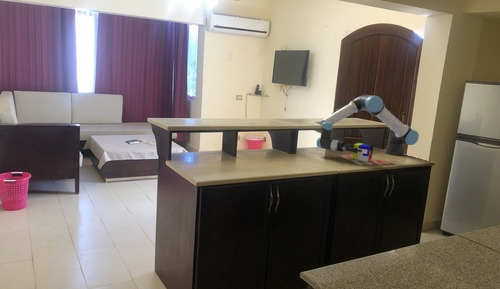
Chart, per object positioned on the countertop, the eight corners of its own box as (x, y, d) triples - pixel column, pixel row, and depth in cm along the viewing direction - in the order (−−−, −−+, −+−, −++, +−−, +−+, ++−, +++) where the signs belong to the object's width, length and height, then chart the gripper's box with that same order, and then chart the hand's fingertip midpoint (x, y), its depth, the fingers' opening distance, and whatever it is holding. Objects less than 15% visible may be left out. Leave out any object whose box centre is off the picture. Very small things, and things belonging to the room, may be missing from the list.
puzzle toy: (366, 161, 264) (368, 146, 263) (352, 158, 270) (354, 144, 268) (371, 159, 273) (373, 145, 271) (357, 156, 278) (359, 142, 276)
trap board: (369, 155, 299) (370, 154, 299) (394, 164, 272) (394, 164, 272) (336, 155, 290) (336, 155, 290) (358, 165, 263) (358, 164, 263)
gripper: (342, 148, 289) (372, 153, 279) (332, 153, 270) (364, 158, 259) (343, 138, 288) (373, 143, 277) (333, 142, 268) (365, 147, 257)
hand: (369, 150), depth 268 cm, fingers closed on puzzle toy, 11 cm apart
